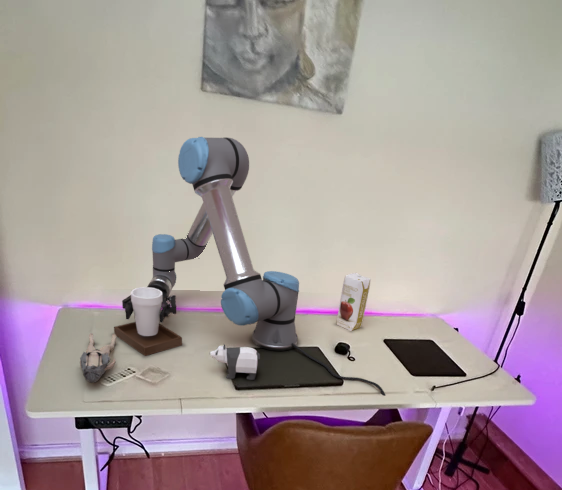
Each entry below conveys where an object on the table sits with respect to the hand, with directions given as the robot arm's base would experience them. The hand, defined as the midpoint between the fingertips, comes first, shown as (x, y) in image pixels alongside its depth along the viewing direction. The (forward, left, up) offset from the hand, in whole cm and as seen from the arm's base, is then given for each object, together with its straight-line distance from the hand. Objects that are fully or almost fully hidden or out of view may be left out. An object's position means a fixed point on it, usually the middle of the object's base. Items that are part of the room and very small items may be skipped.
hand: (144, 316), depth 157 cm
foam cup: (+3, -3, -7) cm, 8 cm away
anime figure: (-3, +18, -10) cm, 20 cm away
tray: (+3, -3, -10) cm, 11 cm away
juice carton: (-26, -71, -10) cm, 76 cm away
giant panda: (-30, -12, -10) cm, 34 cm away
